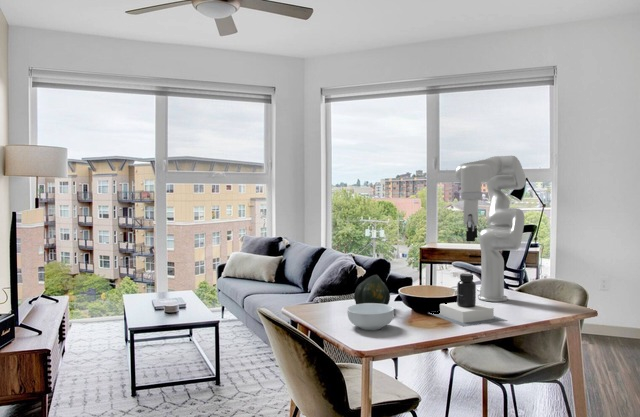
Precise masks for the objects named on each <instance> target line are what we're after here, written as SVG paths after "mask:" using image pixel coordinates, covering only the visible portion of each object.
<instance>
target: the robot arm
mask: <svg viewBox="0 0 640 417" xmlns="http://www.w3.org/2000/svg"><path fill="white" fill-rule="evenodd" d="M454 174H455V178H456V180H457V182H459V183H460V185H461V186H460V188H461V189H460V190H461V191H460V194H461V197H460V198H461V199H460V200H461V201H463V214H462V215H463V217H462V218H463V220H462V221H463V223H462V224H463V226H466V231H465V235H466V236H465V237H466V238H465V239H466V240H465V241H466V242H475V241H476V239H477V238H478V239H479V240H478V242H479V246H480V252H481V253H480V256H481V259H480V261H481V264H480V267H481V269H480V270H481V271H480V274H481V279H480V281H481V282H480V285H481V286H479V287H477V288H476V292H479V294H478V295H477V299H479V300H481V301H484V302H495V303H497V302H499V303H500V302H506V301H508V298H509V297H508V296H507V295H505V292H504V291H505V260H504V257H503V255H502V254H501V253H500V251H509V252H510V251H511V252H512V251H518V250H519V249H520V248H521V245H522V241H523V240H522V239H523V234H524V227H525V221H526V220H525V213H524V211H523V210H522V209H521V208H514V207H510V204H511V200H510V199H509V197H508V196H507V195H506V193H504V192H503V191H502V190H507V191H508V190H509V191H510V190H522V189H523V188H524V187H525V186H526V180H527V178H526V175H525V172H524V169H523V166H522V164H521V162H520V160H519V158H518V157H517V156H515V155H500V156H499V155H497V156H490V157H488V158H485V159H479V160H475V161H469V162H465V163H464V162H463V163H462V164H459V165H458V166H457V167H456V169H455V172H454ZM483 183H486V188H487V192H488V193H487V194H488V195H489V199H490V203H489V207H488V212H487V217H486V224H487V227H486V228H484V229H481V231H480V232H479V234H478V226H477V224H478V221H479V201H482V184H483Z"/></svg>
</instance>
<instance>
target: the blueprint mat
mask: <svg viewBox="0 0 640 417" xmlns="http://www.w3.org/2000/svg"><path fill="white" fill-rule="evenodd" d="M428 315H431V316H434V317H437V318H440V319H442V320H445V321H447V322H450V323H452V324H456V325H459V326H460V327H471V326H478V325H484V324H485V325H486V324H492V323H499V322H507V321H508V319H505V318H501V317H498V316H496V315H494V319H488V320H481V321H473V322H466V323H462V322H459V321H457V320H454V319H451V318H448V317H446V316H443V315H440V313H439V314H434V313H433V314H432V313H430V312H428Z"/></svg>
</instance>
